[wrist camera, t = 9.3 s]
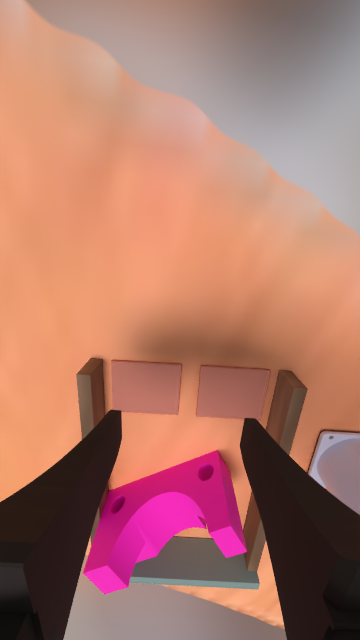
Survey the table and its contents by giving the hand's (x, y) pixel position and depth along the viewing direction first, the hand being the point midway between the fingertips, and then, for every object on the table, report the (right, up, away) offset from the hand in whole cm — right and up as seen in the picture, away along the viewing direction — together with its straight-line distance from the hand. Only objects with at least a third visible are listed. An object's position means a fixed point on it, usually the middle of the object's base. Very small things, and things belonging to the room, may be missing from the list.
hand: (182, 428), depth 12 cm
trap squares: (+1, -1, +10) cm, 10 cm away
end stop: (-1, -24, +17) cm, 30 cm away
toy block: (-1, -15, +15) cm, 21 cm away
